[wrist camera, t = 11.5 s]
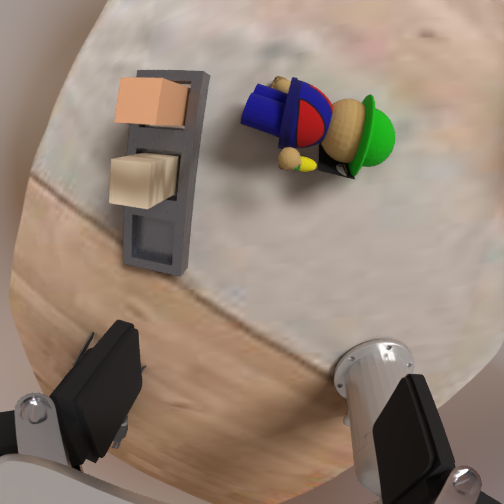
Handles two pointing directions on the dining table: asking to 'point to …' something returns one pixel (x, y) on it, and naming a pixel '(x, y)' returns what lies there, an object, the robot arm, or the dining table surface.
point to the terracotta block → (151, 102)
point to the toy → (320, 127)
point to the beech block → (143, 179)
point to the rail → (180, 204)
